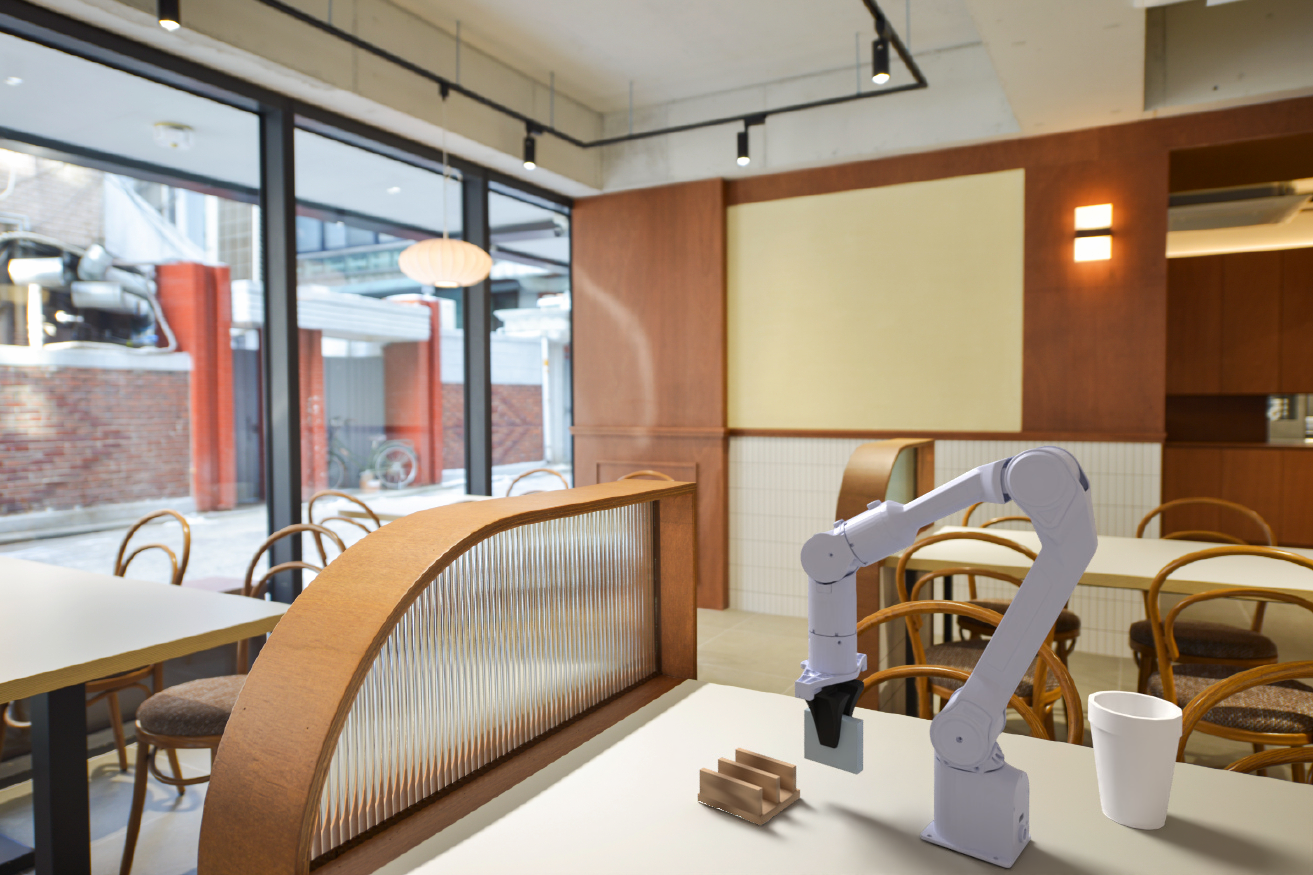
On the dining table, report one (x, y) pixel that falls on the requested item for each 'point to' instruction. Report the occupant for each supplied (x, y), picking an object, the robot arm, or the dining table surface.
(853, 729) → the pale blue upright slab
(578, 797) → the dining table surface
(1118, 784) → the foam cup
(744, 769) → the rack
